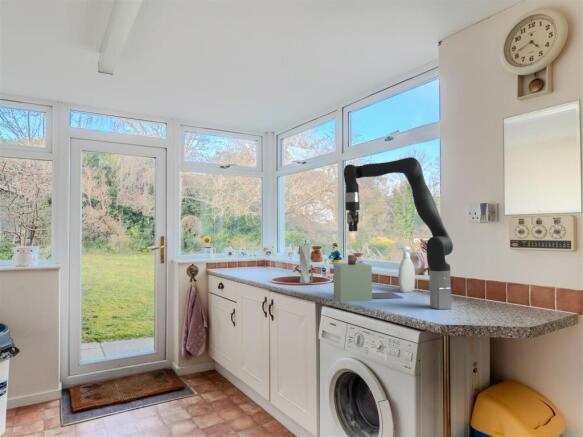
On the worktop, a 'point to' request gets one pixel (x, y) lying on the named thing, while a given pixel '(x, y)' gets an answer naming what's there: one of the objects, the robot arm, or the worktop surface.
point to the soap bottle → (406, 273)
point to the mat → (385, 295)
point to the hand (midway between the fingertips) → (352, 231)
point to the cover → (353, 280)
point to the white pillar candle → (305, 264)
